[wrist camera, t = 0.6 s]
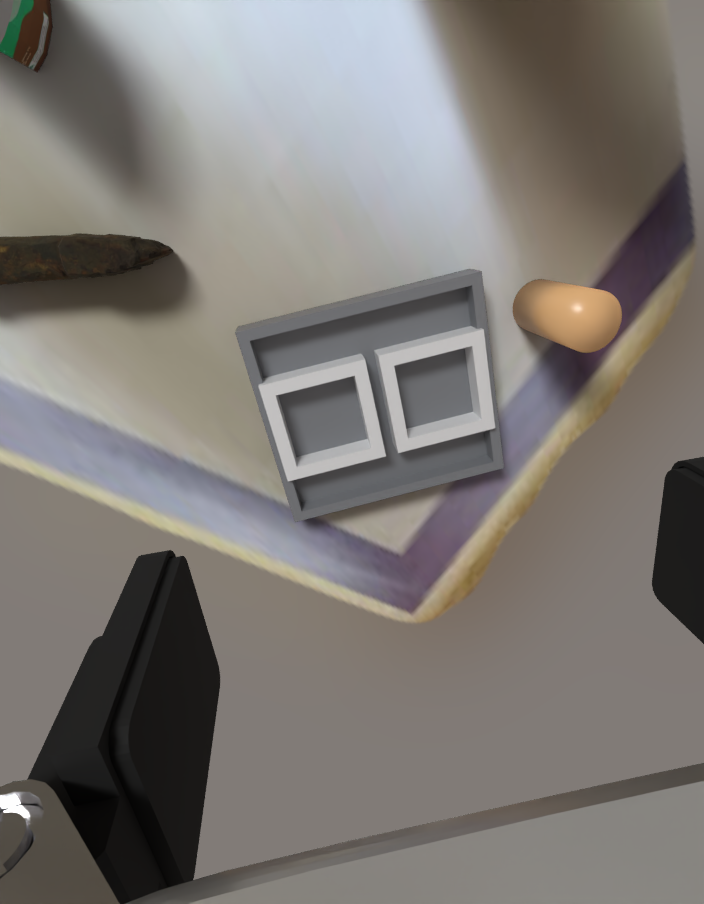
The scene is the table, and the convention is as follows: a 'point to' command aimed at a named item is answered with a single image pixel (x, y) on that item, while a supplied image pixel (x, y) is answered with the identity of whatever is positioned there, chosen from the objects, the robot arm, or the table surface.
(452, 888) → the robot arm
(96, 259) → the hand tool
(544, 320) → the rounded peg
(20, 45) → the food container
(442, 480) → the tray
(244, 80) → the table surface
